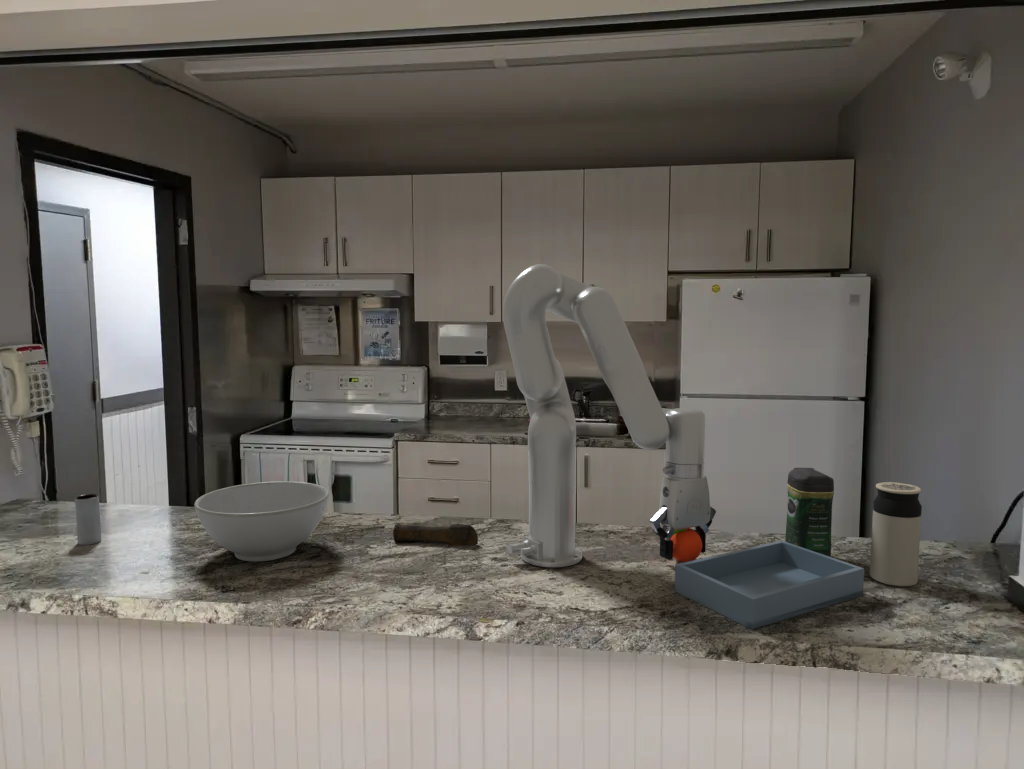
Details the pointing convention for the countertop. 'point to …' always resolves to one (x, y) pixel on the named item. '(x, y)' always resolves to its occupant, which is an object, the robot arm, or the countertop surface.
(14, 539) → the countertop surface
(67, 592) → the countertop surface
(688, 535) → the clementine
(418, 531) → the hand tool
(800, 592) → the bin
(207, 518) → the decorative bowl
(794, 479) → the coffee jar
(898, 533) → the travel mug
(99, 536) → the gray cylinder
